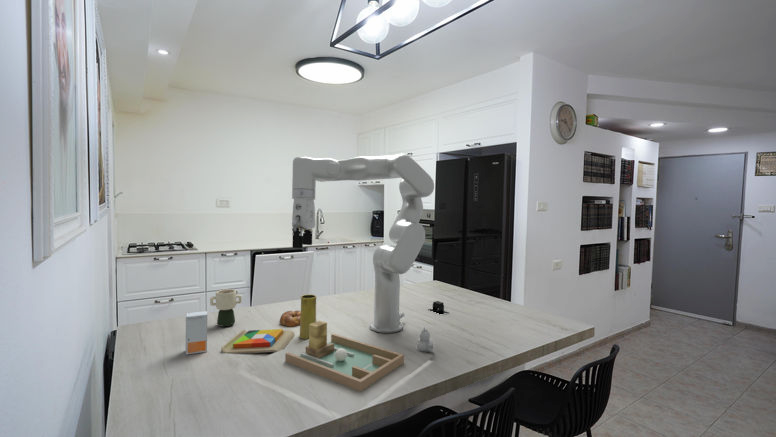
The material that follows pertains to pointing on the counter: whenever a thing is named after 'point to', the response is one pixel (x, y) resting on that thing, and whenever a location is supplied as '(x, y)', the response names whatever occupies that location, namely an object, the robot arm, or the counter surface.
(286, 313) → the sesame bagel
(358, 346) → the pitch
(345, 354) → the ball
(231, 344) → the wooden puzzle
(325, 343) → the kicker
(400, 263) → the robot arm
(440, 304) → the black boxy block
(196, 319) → the skincare box
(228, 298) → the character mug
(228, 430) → the counter surface
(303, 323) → the vase
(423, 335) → the grey figurine
